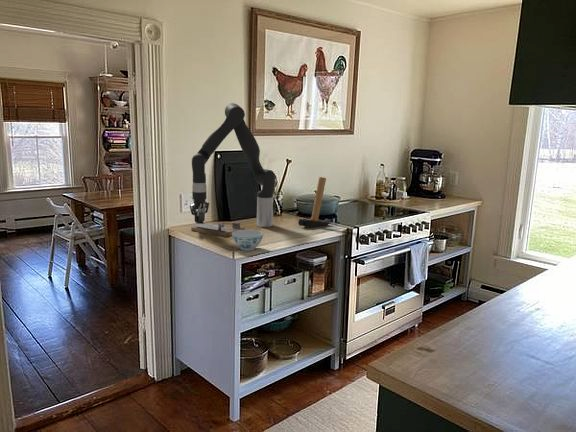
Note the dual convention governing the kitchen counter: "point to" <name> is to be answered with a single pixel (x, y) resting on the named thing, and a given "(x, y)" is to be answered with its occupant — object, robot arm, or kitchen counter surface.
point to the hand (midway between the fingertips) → (199, 221)
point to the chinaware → (247, 238)
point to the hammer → (316, 208)
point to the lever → (210, 226)
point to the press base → (227, 232)
